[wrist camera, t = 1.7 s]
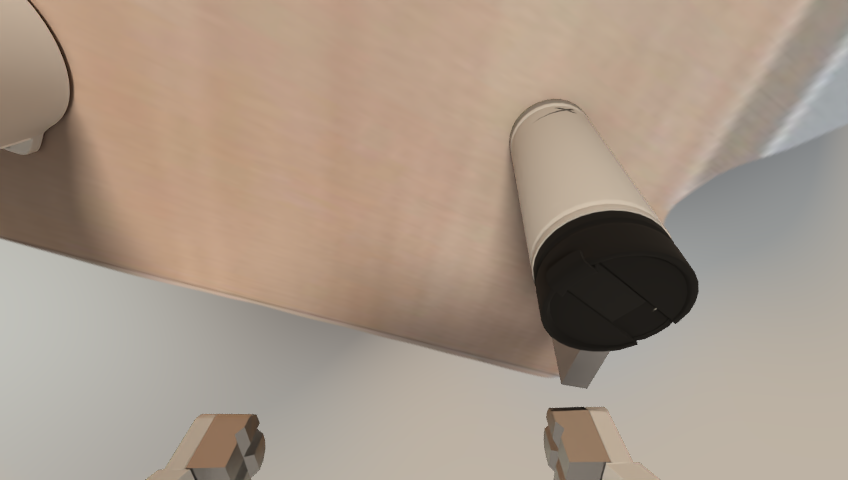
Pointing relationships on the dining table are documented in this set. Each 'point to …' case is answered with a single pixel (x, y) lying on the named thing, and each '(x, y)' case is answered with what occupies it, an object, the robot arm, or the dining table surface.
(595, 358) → the tile
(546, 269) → the travel mug
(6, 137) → the robot arm
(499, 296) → the dining table surface
